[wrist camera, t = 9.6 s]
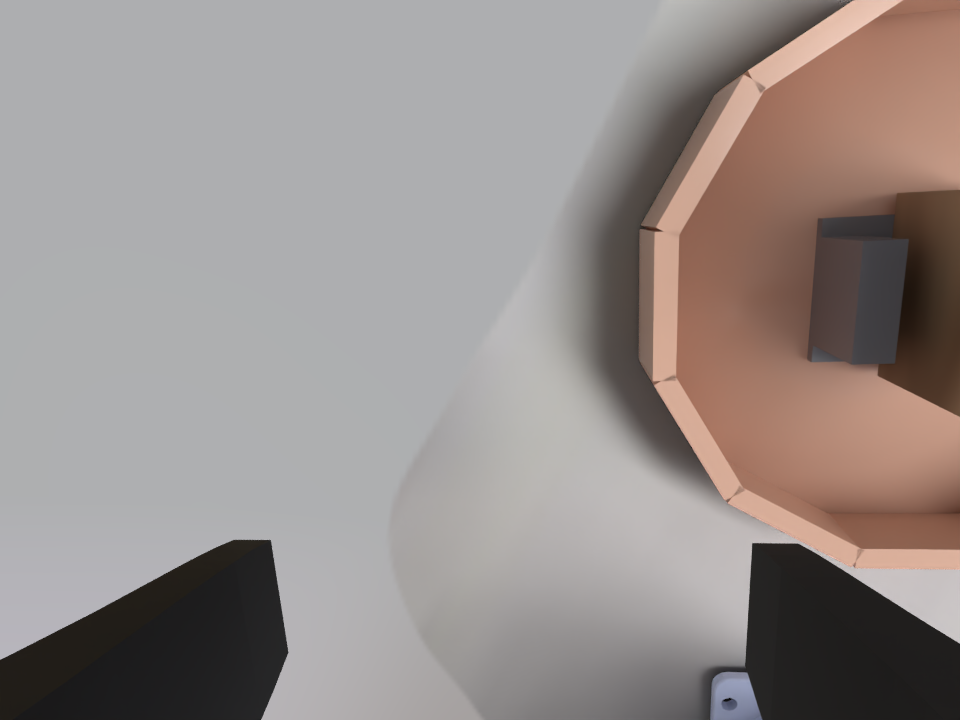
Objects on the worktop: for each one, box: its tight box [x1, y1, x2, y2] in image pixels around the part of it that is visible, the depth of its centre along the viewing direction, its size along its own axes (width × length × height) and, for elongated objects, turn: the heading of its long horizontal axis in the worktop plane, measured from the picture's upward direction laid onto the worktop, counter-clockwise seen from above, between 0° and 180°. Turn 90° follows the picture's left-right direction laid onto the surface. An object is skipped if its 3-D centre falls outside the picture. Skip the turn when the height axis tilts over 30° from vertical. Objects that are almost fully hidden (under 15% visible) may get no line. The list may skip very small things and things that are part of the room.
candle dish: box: [639, 0, 960, 569], centre depth 15 cm, size 15×15×3 cm
